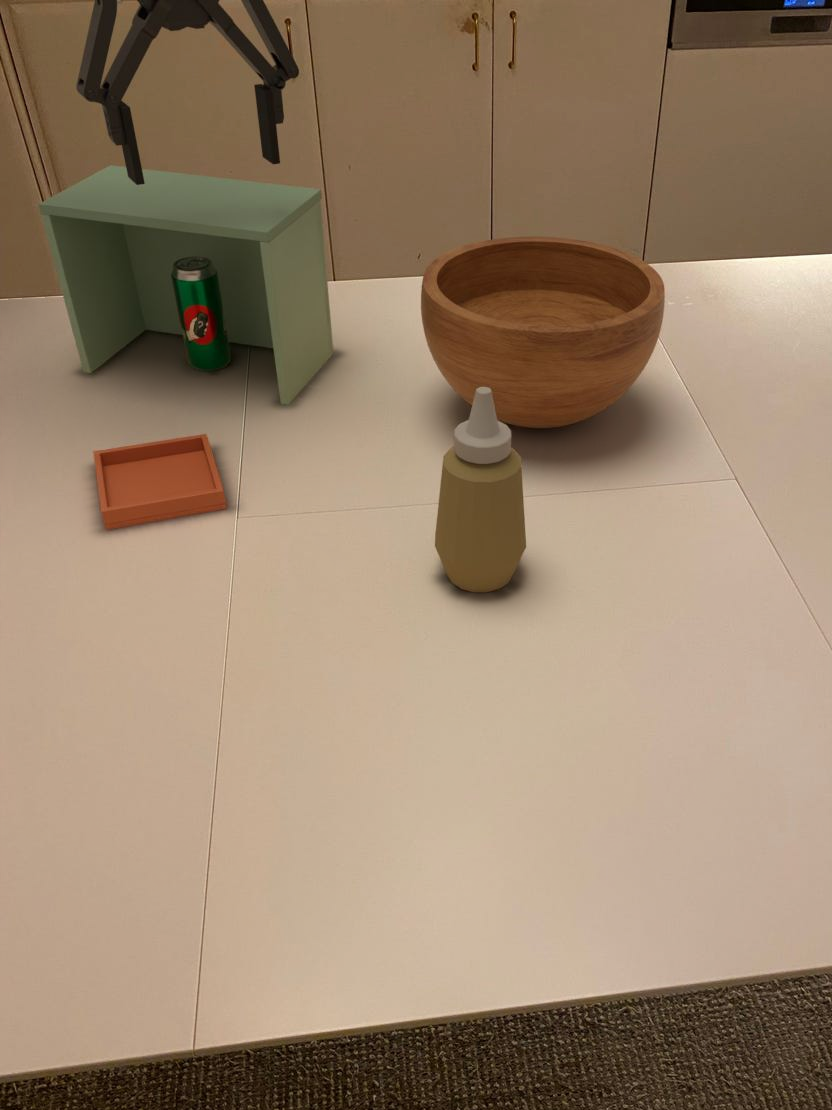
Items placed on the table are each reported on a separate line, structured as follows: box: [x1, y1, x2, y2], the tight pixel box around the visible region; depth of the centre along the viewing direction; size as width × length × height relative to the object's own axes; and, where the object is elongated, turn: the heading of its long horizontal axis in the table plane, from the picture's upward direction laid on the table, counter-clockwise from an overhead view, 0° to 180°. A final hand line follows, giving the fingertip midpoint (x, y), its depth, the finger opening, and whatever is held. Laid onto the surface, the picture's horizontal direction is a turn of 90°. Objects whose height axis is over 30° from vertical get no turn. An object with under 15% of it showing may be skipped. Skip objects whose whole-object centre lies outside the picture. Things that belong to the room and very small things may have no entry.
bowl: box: [420, 236, 666, 429], centre depth 105 cm, size 25×25×15 cm
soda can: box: [171, 256, 232, 372], centre depth 114 cm, size 5×5×12 cm
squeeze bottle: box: [434, 387, 527, 593], centre depth 82 cm, size 8×8×18 cm
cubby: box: [37, 165, 335, 406], centre depth 112 cm, size 14×26×19 cm, turn 74°
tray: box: [92, 433, 228, 531], centre depth 97 cm, size 11×11×2 cm
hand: (205, 170), depth 96 cm, fingers open, 13 cm apart
